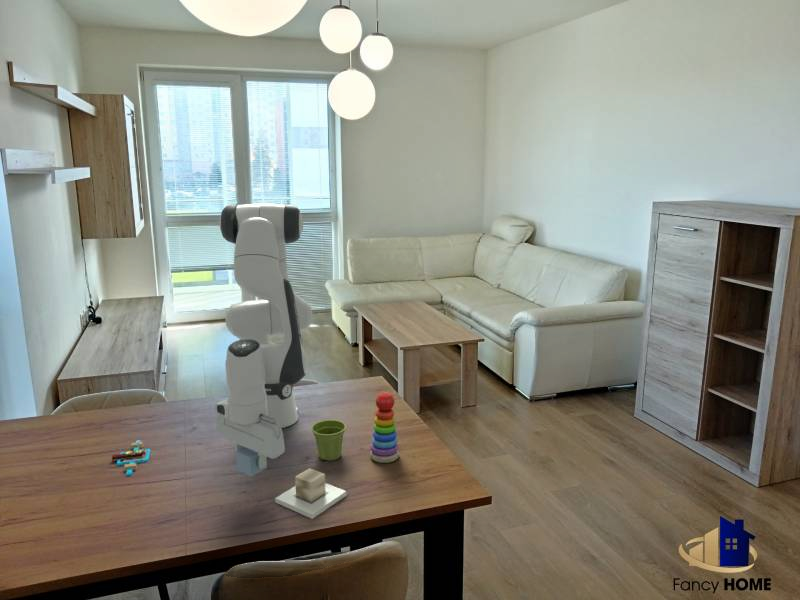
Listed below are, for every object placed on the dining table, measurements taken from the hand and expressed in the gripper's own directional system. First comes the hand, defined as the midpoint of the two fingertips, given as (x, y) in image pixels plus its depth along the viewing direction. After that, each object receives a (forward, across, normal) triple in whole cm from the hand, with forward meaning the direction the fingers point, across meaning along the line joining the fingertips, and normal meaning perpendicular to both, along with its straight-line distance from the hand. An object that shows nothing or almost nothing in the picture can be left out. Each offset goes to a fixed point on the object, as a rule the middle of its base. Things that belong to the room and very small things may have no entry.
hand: (251, 462), depth 145 cm
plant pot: (+10, -1, -26) cm, 28 cm away
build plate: (+9, -12, -8) cm, 17 cm away
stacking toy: (+10, -14, -34) cm, 38 cm away
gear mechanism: (+11, +43, +6) cm, 45 cm away
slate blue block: (+2, 0, 0) cm, 2 cm away
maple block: (+8, -12, -8) cm, 16 cm away
